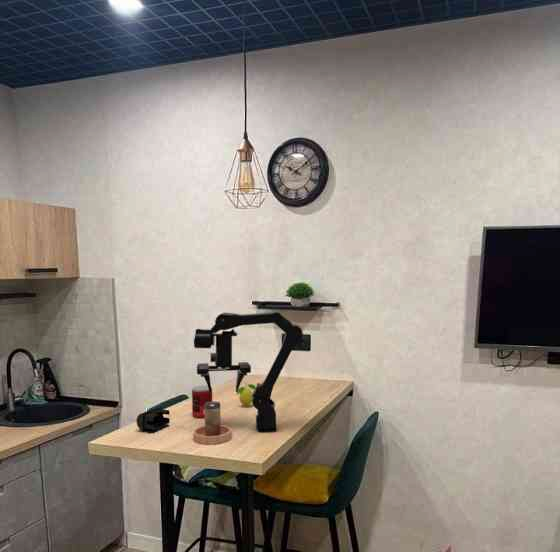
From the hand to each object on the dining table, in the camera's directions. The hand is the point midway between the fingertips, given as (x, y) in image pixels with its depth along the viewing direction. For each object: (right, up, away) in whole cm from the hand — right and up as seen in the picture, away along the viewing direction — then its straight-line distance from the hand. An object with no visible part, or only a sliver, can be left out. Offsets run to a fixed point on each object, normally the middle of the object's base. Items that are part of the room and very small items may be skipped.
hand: (223, 392), depth 169 cm
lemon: (+6, -13, +30) cm, 33 cm away
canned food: (-10, -14, +17) cm, 24 cm away
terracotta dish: (-3, -13, -9) cm, 16 cm away
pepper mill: (-3, -13, -9) cm, 16 cm away
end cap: (-25, -14, +2) cm, 29 cm away
